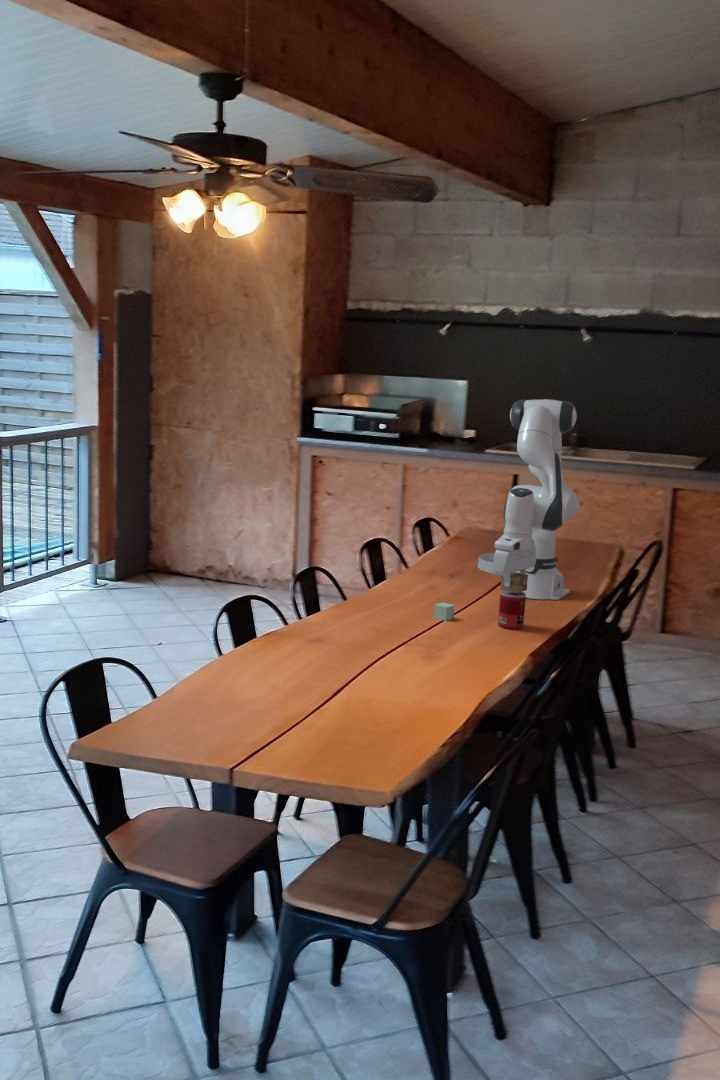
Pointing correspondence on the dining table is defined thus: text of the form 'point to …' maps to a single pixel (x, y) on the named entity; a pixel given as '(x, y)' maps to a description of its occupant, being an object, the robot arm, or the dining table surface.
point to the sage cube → (444, 611)
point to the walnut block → (516, 582)
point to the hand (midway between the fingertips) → (513, 584)
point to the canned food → (511, 610)
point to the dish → (487, 562)
